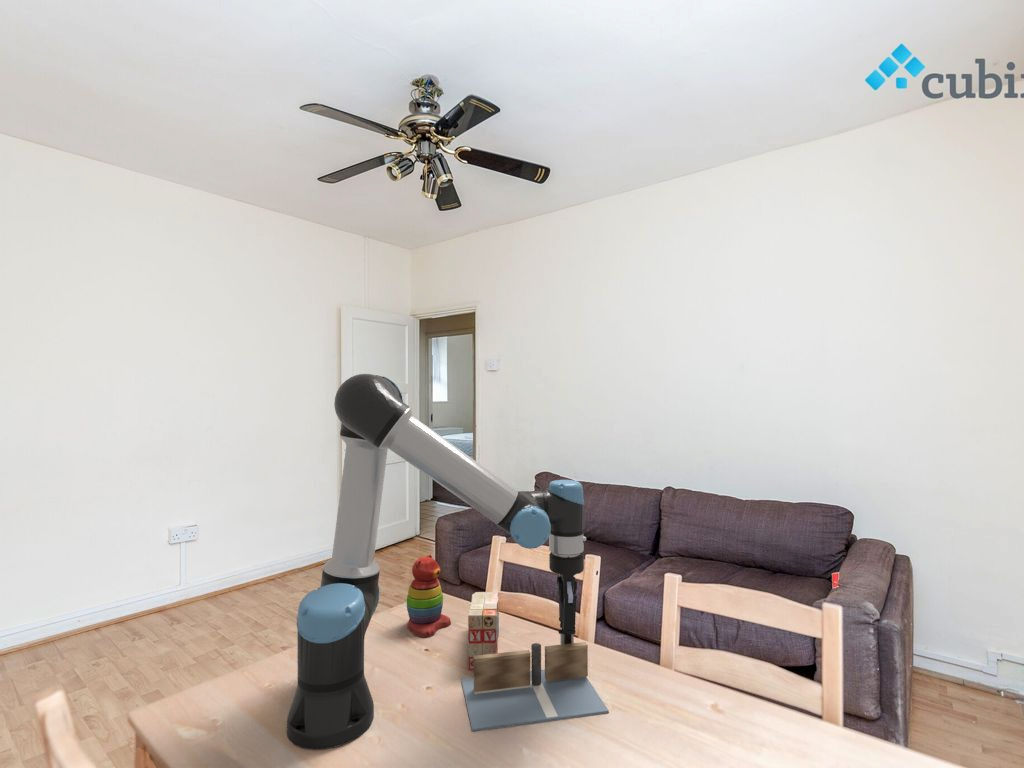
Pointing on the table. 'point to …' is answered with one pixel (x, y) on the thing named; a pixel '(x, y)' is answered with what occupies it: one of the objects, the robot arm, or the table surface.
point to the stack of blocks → (483, 625)
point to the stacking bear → (425, 599)
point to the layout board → (531, 703)
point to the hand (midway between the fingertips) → (567, 661)
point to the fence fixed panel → (507, 669)
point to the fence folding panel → (566, 661)
